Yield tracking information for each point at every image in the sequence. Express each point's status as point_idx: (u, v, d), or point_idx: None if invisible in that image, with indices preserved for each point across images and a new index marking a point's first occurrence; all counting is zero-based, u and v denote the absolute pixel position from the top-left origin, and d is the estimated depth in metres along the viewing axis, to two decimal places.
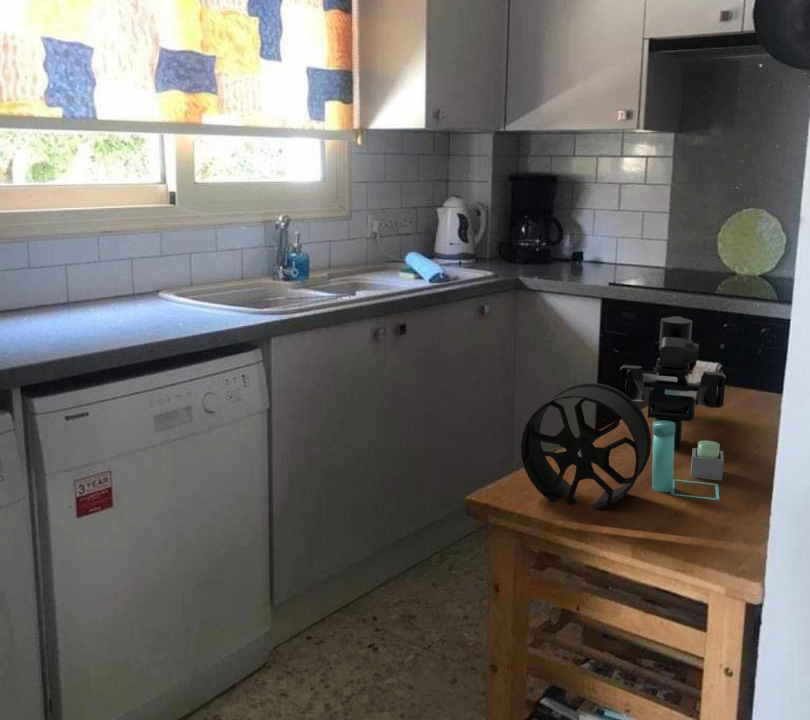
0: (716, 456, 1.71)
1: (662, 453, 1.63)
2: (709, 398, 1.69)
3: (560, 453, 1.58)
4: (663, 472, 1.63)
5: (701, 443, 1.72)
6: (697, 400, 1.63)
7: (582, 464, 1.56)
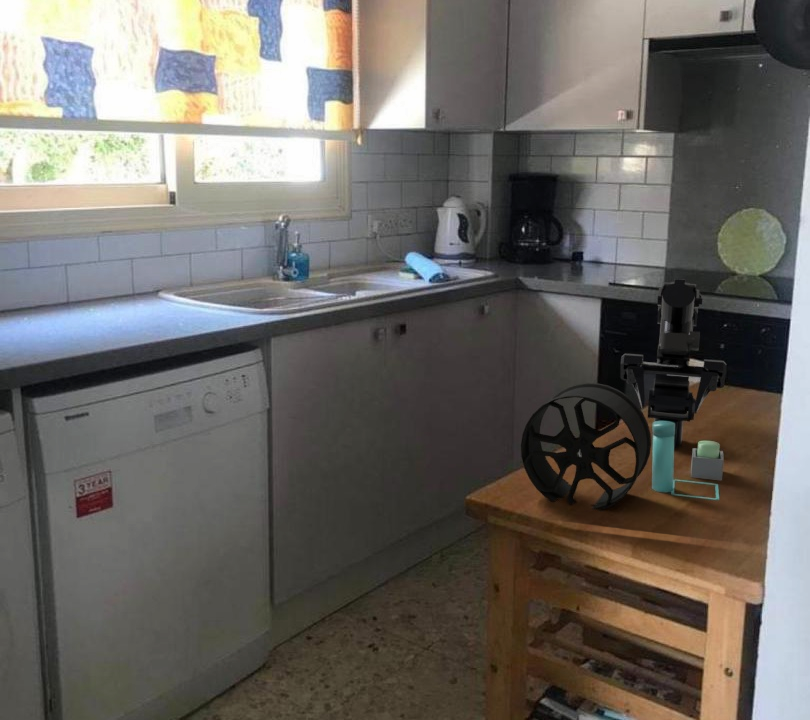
0: (716, 456, 1.71)
1: (662, 454, 1.63)
2: (710, 386, 1.72)
3: (560, 453, 1.58)
4: (663, 472, 1.63)
5: (701, 443, 1.72)
6: (695, 411, 1.68)
7: (582, 464, 1.56)
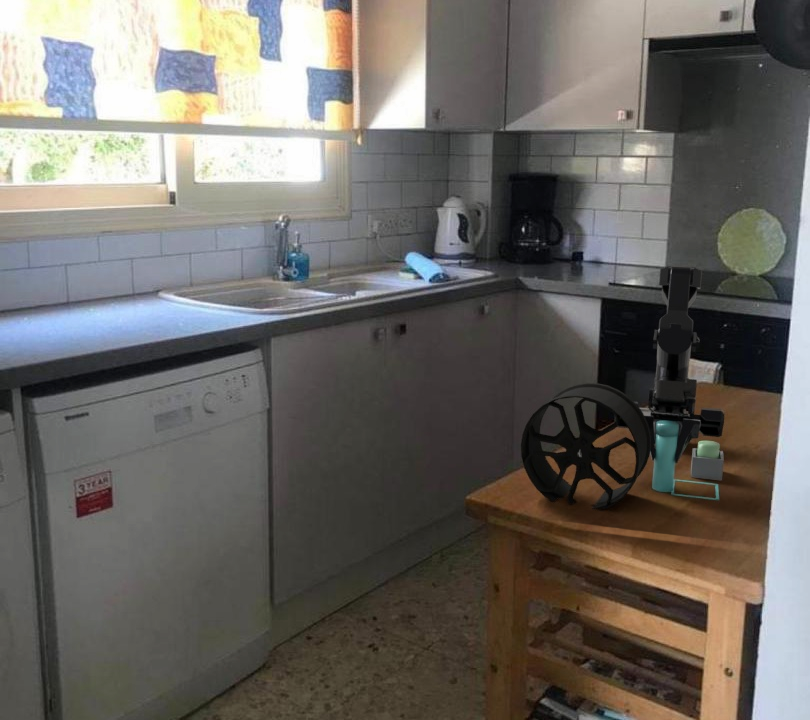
0: (716, 456, 1.71)
1: (664, 453, 1.62)
2: (692, 433, 1.66)
3: (560, 453, 1.58)
4: (665, 472, 1.63)
5: (701, 443, 1.72)
6: (676, 460, 1.62)
7: (582, 464, 1.56)
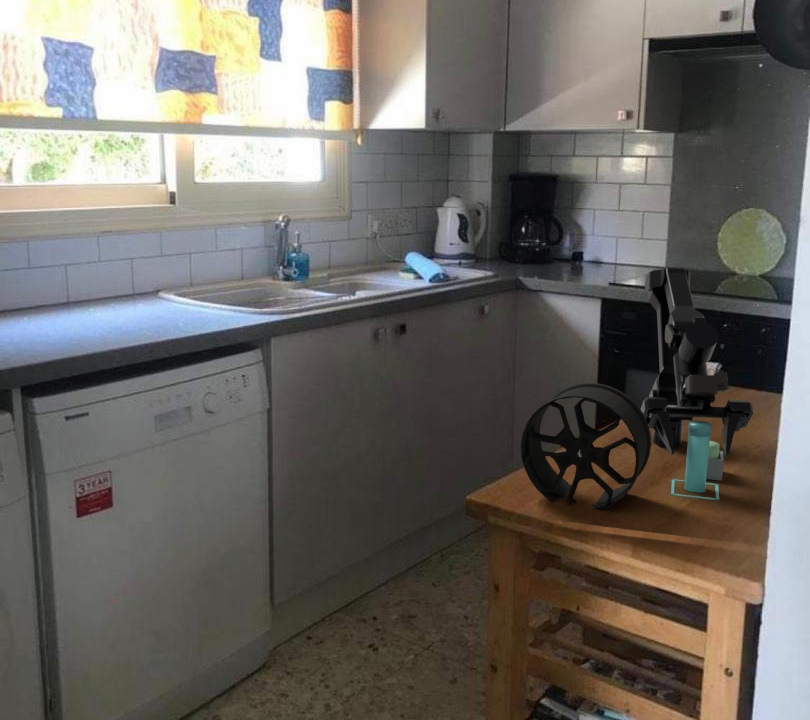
0: (716, 456, 1.71)
1: (699, 453, 1.63)
2: None
3: (560, 453, 1.58)
4: (699, 472, 1.63)
5: None
6: (727, 455, 1.62)
7: (582, 464, 1.56)
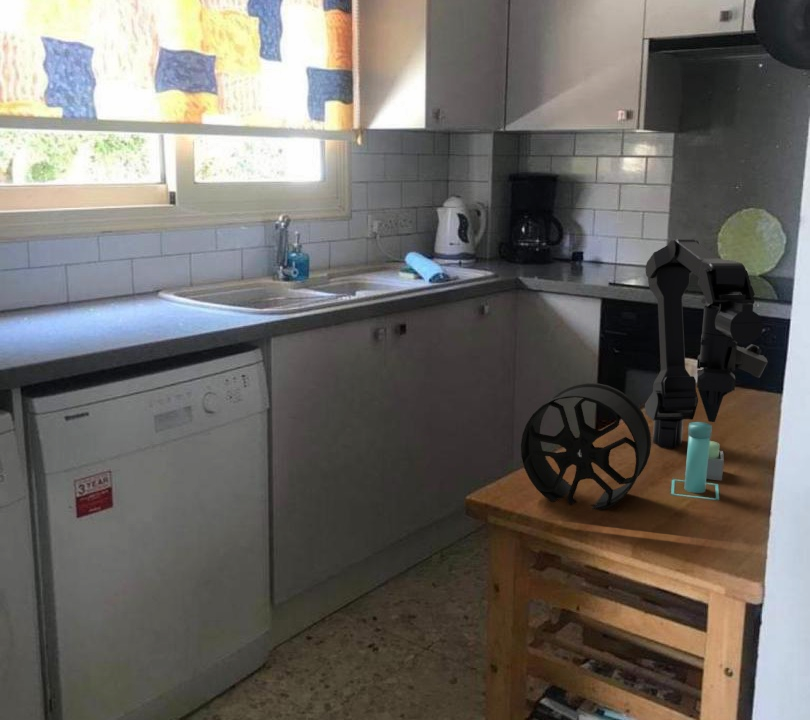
0: (716, 456, 1.71)
1: (699, 455, 1.62)
2: None
3: (560, 453, 1.58)
4: (699, 473, 1.63)
5: None
6: None
7: (582, 464, 1.56)
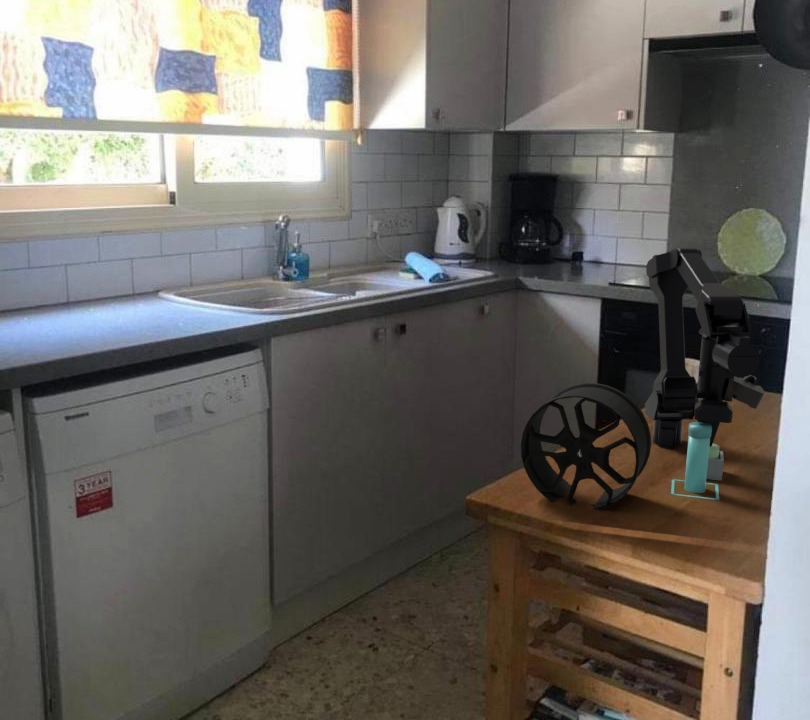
0: (716, 458, 1.71)
1: (700, 455, 1.62)
2: None
3: (560, 453, 1.58)
4: (699, 473, 1.63)
5: None
6: (710, 445, 1.72)
7: (582, 464, 1.56)
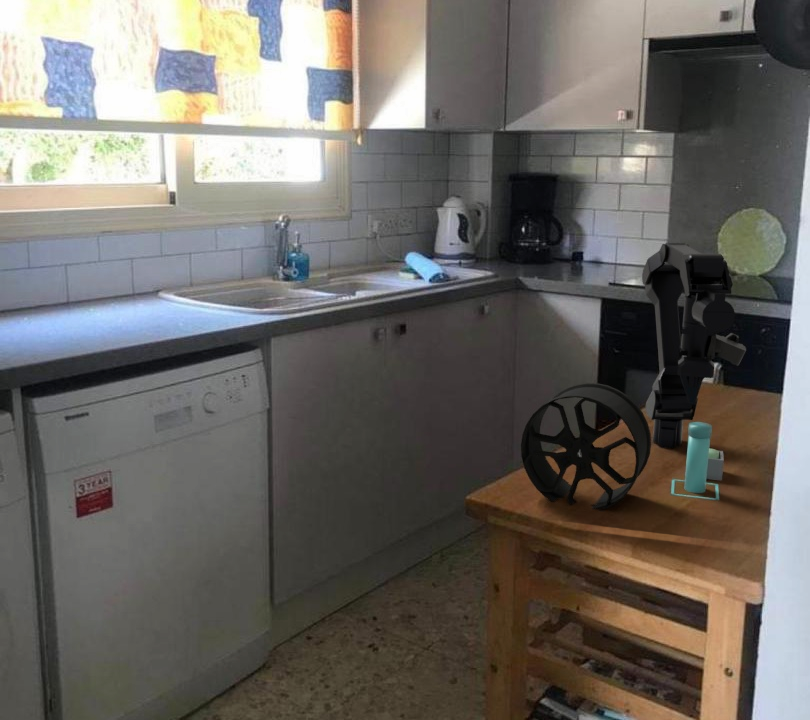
0: None
1: (700, 455, 1.62)
2: None
3: (560, 453, 1.58)
4: (699, 473, 1.63)
5: None
6: None
7: (582, 464, 1.56)
